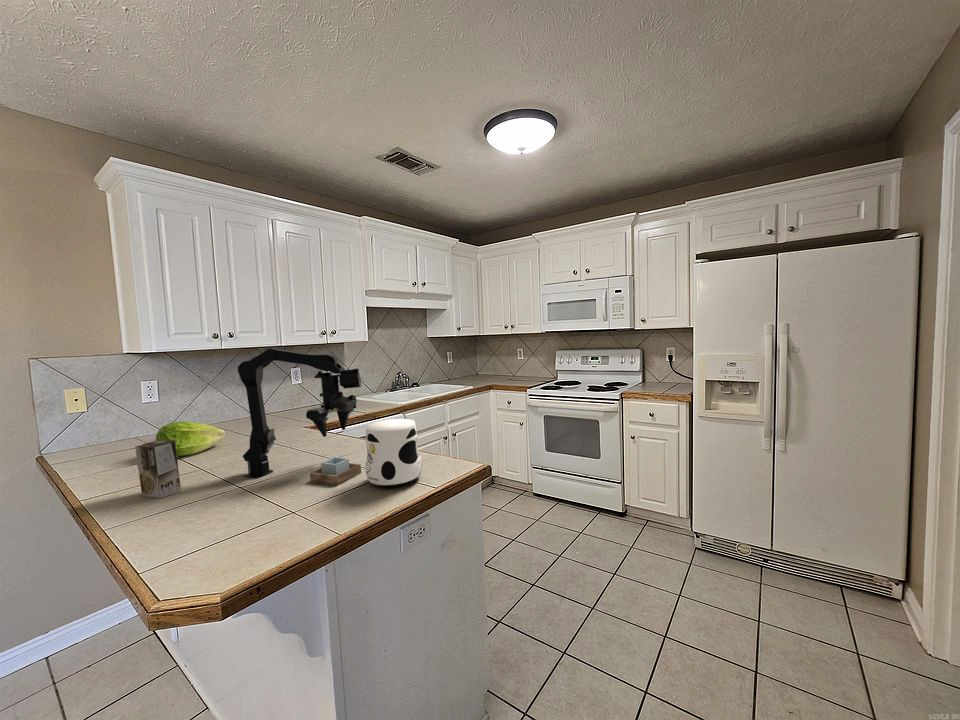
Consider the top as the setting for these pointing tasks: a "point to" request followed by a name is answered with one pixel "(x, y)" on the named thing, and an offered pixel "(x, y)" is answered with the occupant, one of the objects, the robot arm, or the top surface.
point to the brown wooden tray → (335, 479)
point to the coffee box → (158, 468)
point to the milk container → (392, 452)
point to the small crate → (335, 466)
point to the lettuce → (190, 436)
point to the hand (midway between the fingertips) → (334, 433)
